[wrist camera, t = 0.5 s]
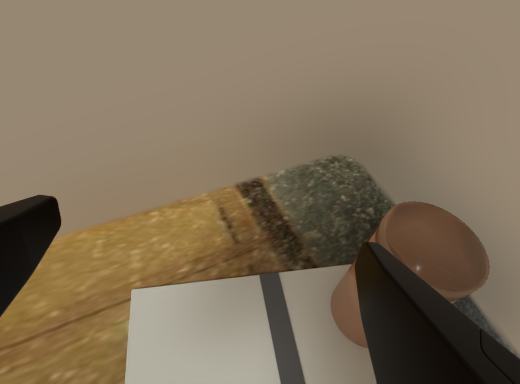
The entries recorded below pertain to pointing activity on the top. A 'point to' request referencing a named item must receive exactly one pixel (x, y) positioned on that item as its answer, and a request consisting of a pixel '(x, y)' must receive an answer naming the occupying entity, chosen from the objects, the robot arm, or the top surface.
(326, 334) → the mat
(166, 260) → the top surface
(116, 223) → the top surface
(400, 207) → the canister
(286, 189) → the top surface
